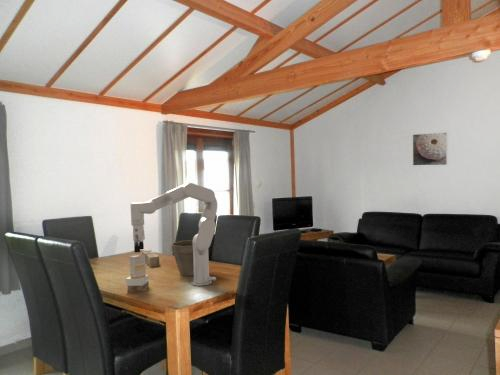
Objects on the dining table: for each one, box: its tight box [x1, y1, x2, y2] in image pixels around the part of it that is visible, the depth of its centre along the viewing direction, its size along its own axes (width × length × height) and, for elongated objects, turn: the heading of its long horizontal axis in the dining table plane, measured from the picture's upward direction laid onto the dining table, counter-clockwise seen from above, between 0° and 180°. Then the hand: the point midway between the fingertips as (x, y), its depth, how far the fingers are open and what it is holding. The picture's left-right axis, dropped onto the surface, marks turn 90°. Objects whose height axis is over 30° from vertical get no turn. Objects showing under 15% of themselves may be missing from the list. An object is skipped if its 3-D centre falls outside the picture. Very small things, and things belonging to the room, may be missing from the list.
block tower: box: [141, 249, 160, 268], centre depth 316 cm, size 8×8×29 cm
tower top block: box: [125, 274, 149, 287], centre depth 241 cm, size 10×10×4 cm
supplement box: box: [129, 253, 147, 279], centre depth 240 cm, size 8×5×13 cm, turn 135°
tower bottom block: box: [127, 280, 150, 293], centre depth 241 cm, size 10×10×4 cm
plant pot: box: [170, 239, 194, 277], centre depth 278 cm, size 25×25×22 cm
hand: (139, 250), depth 241 cm, fingers open, 9 cm apart
